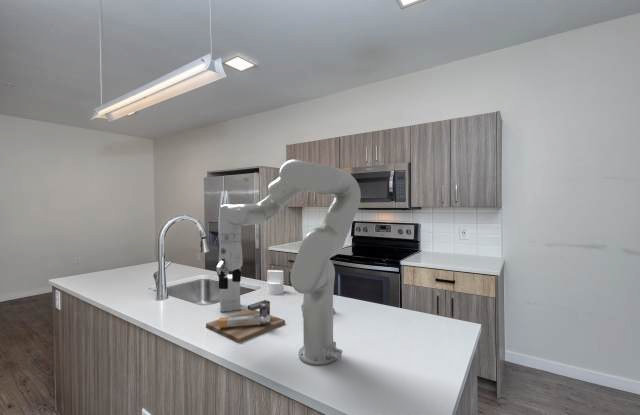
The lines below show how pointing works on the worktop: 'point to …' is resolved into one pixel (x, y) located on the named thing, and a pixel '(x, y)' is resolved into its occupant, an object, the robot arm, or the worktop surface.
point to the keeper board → (246, 331)
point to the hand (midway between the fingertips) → (230, 285)
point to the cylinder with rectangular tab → (275, 282)
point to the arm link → (247, 319)
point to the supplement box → (230, 296)
